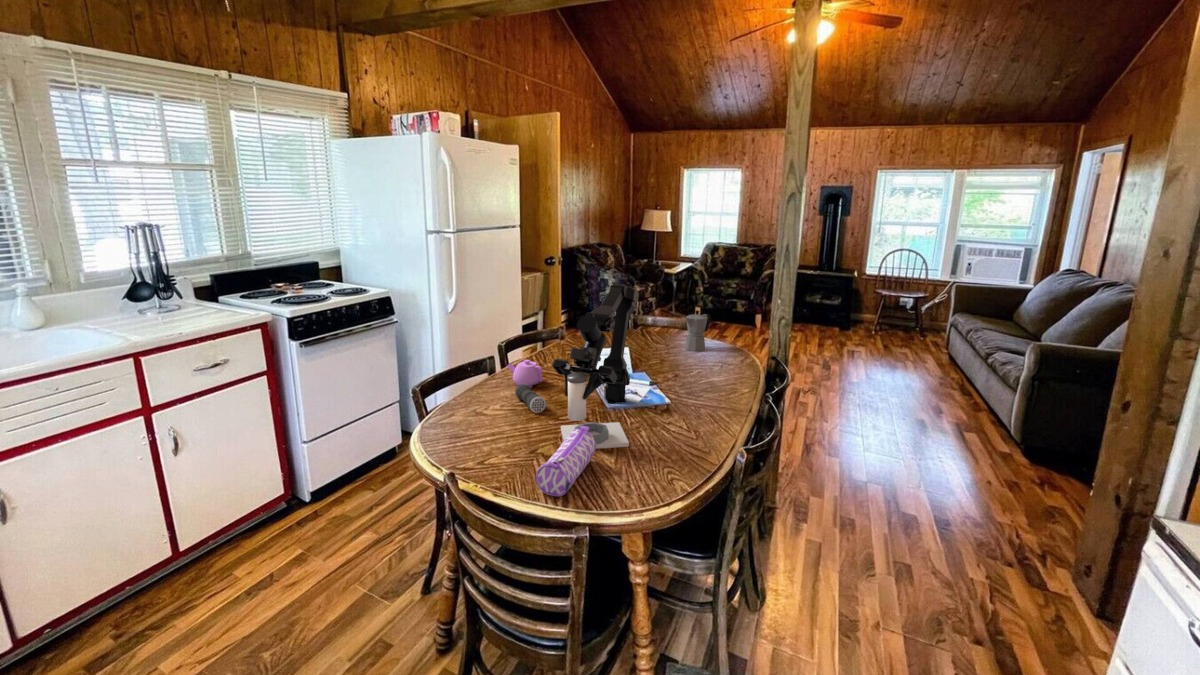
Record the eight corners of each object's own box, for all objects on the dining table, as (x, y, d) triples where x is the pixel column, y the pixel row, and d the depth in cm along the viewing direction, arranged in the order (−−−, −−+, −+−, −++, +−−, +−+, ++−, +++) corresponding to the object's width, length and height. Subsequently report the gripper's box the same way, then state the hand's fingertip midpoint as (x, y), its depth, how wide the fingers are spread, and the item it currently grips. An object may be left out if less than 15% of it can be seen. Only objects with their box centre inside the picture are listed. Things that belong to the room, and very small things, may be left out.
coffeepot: (691, 353, 242) (694, 314, 237) (677, 348, 249) (679, 310, 245) (716, 348, 251) (718, 310, 246) (701, 343, 258) (703, 306, 253)
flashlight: (513, 398, 189) (513, 384, 188) (528, 396, 192) (528, 381, 190) (530, 414, 176) (530, 398, 175) (546, 411, 179) (545, 395, 177)
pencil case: (569, 503, 127) (569, 466, 125) (532, 496, 130) (531, 460, 127) (597, 459, 148) (598, 427, 145) (565, 454, 150) (565, 422, 148)
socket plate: (619, 425, 168) (619, 414, 167) (628, 446, 155) (629, 434, 154) (560, 429, 165) (560, 418, 164) (565, 450, 152) (565, 438, 151)
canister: (581, 412, 161) (581, 372, 158) (589, 419, 156) (589, 377, 153) (564, 415, 159) (564, 374, 155) (572, 422, 154) (572, 380, 151)
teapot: (535, 391, 195) (535, 366, 193) (500, 385, 201) (499, 361, 199) (550, 382, 205) (549, 358, 202) (516, 376, 210) (515, 353, 208)
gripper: (554, 331, 158) (535, 379, 152) (613, 339, 151) (596, 390, 144) (567, 350, 167) (550, 396, 161) (624, 359, 160) (608, 407, 153)
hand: (574, 397), depth 155 cm, fingers closed on canister, 5 cm apart
